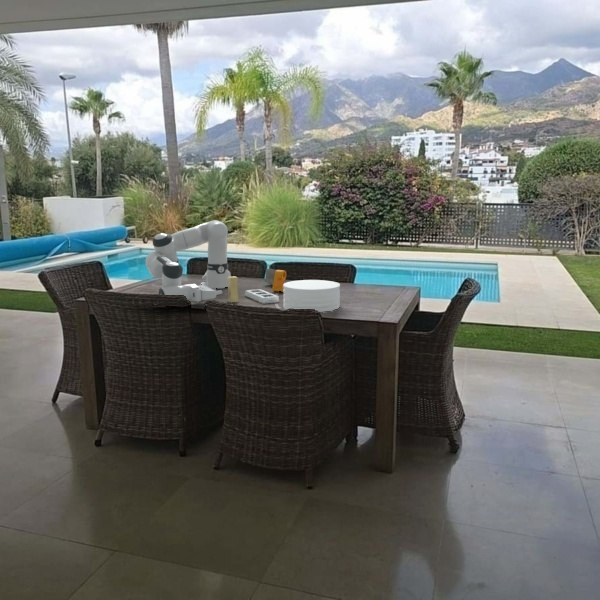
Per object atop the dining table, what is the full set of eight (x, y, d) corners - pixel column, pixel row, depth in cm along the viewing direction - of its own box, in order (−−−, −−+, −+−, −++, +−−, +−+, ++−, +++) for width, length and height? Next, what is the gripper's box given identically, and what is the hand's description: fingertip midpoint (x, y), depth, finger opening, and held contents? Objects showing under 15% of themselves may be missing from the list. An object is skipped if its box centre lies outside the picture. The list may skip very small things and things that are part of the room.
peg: (228, 301, 302) (227, 276, 300) (235, 300, 304) (234, 276, 302) (231, 302, 299) (230, 277, 296) (238, 302, 301) (237, 277, 298)
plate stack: (337, 301, 303) (337, 279, 301) (342, 313, 276) (342, 289, 273) (283, 301, 302) (283, 280, 300) (283, 313, 275) (283, 289, 272)
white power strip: (245, 295, 317) (245, 290, 317) (260, 294, 321) (260, 289, 321) (262, 303, 296) (262, 298, 296) (278, 302, 300) (278, 296, 300)
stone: (287, 286, 346) (287, 270, 344) (282, 287, 342) (281, 270, 340) (269, 283, 356) (269, 267, 354) (264, 284, 353) (264, 268, 351)
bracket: (283, 293, 325) (283, 271, 323) (272, 292, 329) (272, 271, 326) (292, 290, 335) (292, 269, 332) (281, 289, 338) (281, 268, 336)
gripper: (186, 295, 300) (212, 293, 306) (198, 302, 282) (225, 299, 288) (186, 283, 299) (212, 281, 305) (198, 289, 281) (225, 287, 287)
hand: (218, 290), depth 296 cm, fingers open, 8 cm apart
